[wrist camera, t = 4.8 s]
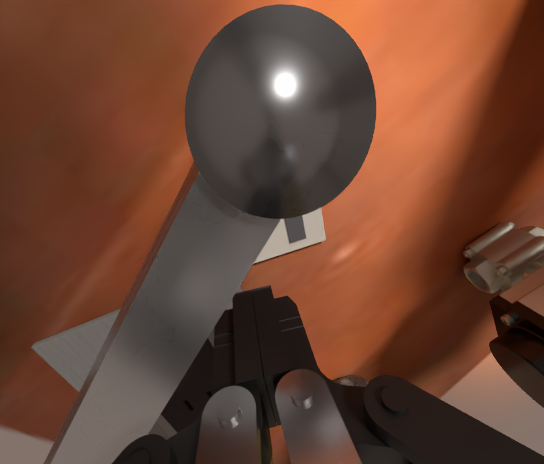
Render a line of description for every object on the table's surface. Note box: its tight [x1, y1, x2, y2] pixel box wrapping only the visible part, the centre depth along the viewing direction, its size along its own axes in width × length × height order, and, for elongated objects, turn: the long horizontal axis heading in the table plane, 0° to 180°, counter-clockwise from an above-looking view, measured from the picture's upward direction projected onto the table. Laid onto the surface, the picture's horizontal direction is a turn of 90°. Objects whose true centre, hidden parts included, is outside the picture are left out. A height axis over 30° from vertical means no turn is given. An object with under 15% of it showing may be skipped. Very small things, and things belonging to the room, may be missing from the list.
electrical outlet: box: [31, 285, 243, 440], centre depth 18 cm, size 13×10×2 cm
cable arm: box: [44, 5, 376, 464], centre depth 9 cm, size 21×4×3 cm, turn 149°
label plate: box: [254, 208, 326, 263], centre depth 15 cm, size 6×5×1 cm
